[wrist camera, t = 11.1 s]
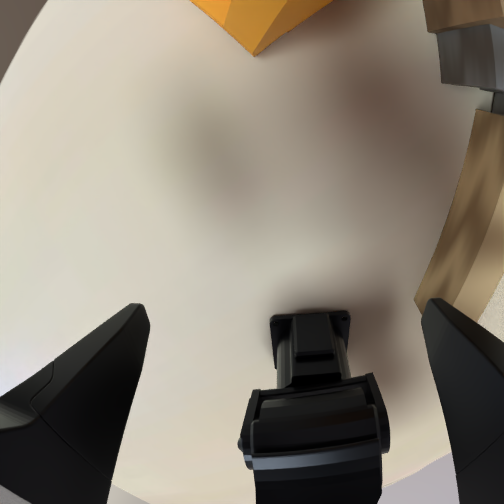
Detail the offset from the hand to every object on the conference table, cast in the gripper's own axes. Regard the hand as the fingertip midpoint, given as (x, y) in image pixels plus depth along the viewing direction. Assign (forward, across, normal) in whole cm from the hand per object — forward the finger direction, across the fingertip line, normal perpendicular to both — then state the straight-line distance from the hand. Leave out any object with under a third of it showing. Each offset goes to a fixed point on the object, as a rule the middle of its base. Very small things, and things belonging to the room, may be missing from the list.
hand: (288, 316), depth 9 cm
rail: (+12, -15, 0) cm, 19 cm away
